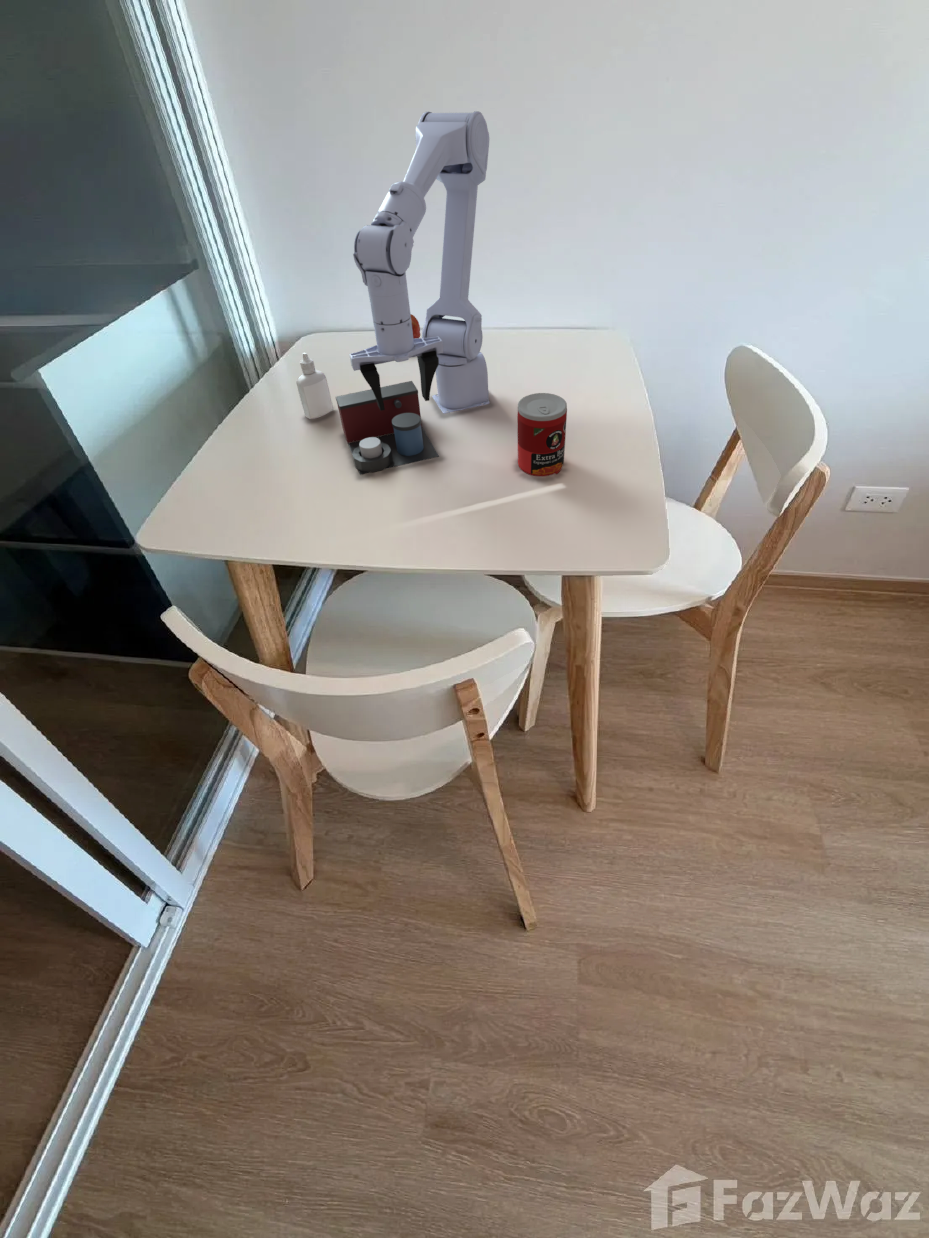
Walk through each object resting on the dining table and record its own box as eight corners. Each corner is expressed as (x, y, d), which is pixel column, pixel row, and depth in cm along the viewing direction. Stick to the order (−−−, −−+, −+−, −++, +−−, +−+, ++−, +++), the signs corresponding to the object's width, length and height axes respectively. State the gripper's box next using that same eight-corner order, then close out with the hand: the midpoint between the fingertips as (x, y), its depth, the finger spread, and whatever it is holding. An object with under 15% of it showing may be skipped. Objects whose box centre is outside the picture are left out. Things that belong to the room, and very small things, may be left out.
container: (420, 438, 111) (416, 410, 107) (427, 452, 108) (424, 423, 104) (393, 444, 110) (388, 416, 106) (400, 458, 107) (395, 429, 103)
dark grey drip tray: (440, 460, 107) (438, 446, 105) (359, 478, 105) (356, 465, 103) (422, 429, 115) (421, 416, 113) (347, 446, 112) (344, 433, 110)
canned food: (533, 484, 100) (534, 422, 92) (508, 462, 105) (507, 401, 97) (573, 470, 102) (577, 407, 94) (546, 448, 107) (548, 387, 99)
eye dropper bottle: (335, 417, 120) (320, 355, 111) (306, 422, 119) (289, 360, 111) (333, 407, 123) (319, 346, 114) (304, 412, 122) (288, 351, 114)
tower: (424, 432, 114) (419, 392, 108) (349, 449, 111) (340, 409, 106) (416, 419, 117) (412, 380, 112) (343, 435, 115) (335, 396, 109)
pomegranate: (410, 348, 146) (375, 329, 139) (426, 319, 142) (391, 299, 135) (421, 363, 141) (385, 345, 135) (438, 334, 138) (402, 314, 131)
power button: (384, 456, 105) (382, 445, 103) (363, 461, 104) (361, 450, 103) (379, 446, 107) (377, 435, 106) (359, 450, 107) (357, 439, 105)
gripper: (349, 336, 89) (366, 423, 99) (445, 318, 92) (452, 404, 102) (340, 319, 94) (357, 403, 104) (432, 302, 96) (440, 386, 106)
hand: (403, 403), depth 103 cm, fingers open, 7 cm apart
